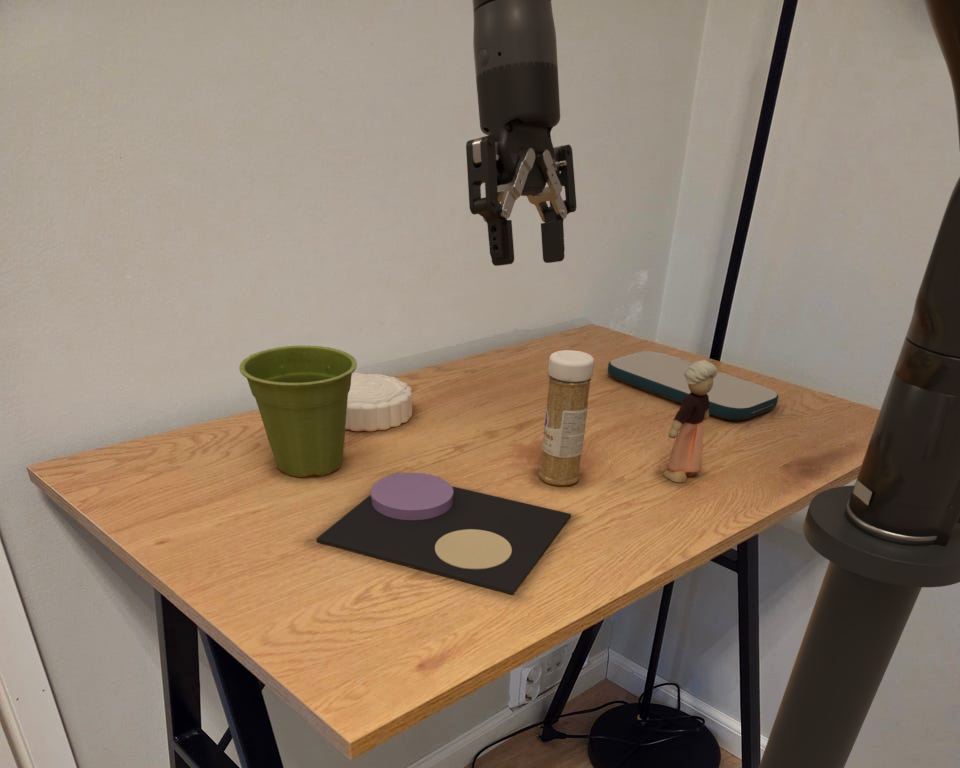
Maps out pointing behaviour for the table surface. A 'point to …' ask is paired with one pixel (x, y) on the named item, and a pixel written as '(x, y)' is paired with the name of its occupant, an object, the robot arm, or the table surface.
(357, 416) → the mooncake
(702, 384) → the grandmother figurine
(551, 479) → the spice jar
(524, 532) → the table mat
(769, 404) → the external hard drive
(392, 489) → the lilac disc
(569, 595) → the table surface
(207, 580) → the table surface
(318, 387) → the plant pot
